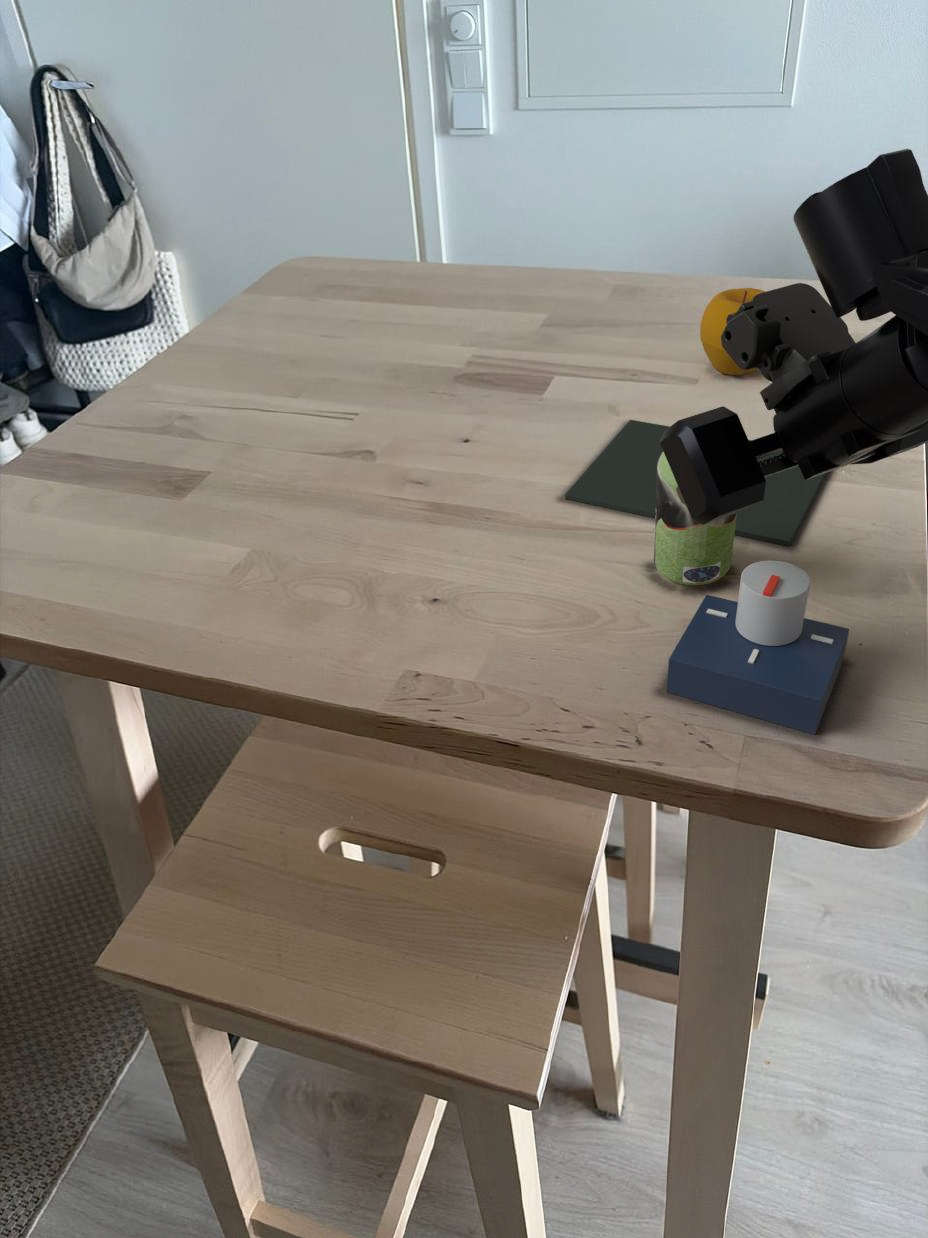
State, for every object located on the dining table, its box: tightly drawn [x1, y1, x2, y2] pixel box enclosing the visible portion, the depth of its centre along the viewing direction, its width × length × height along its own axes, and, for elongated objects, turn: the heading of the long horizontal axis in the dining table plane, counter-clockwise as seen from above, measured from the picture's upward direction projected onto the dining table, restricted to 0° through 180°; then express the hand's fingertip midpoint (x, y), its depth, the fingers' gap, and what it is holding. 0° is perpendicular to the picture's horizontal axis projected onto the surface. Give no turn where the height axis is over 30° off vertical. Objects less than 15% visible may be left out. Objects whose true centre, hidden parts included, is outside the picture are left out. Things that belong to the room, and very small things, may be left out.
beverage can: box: [653, 452, 737, 586], centre depth 75 cm, size 6×7×12 cm
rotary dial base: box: [666, 594, 850, 735], centre depth 69 cm, size 10×10×3 cm
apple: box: [699, 287, 766, 376], centre depth 106 cm, size 8×8×9 cm
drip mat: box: [564, 419, 827, 547], centre depth 91 cm, size 20×16×1 cm
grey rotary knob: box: [735, 560, 811, 646], centre depth 67 cm, size 4×4×4 cm
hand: (734, 477), depth 70 cm, fingers open, 9 cm apart
